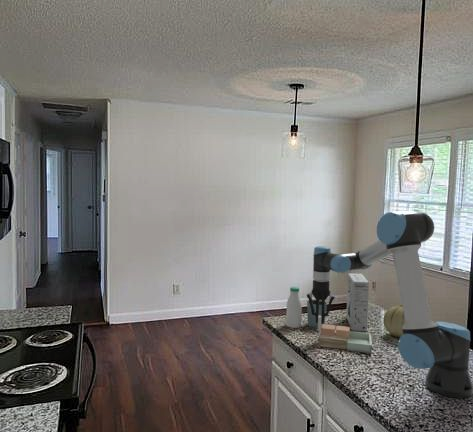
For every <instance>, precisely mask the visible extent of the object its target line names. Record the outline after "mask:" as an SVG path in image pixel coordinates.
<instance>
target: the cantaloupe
mask: <svg viewBox="0 0 473 432" xmlns="http://www.w3.org/2000/svg"><path fill="white" fill-rule="evenodd" d="M382 321H383V326H384V329H385V330H386V331H387V332H388V333H389V334H390V335H392V336H393V337H396V338H400V337H401V336H402V335H403V331H402V327H403V326H404V324H405V317H404V312H403V307H402V304H400V305H399V306H398V305H397V306H396V305H394V306H391V307H390V308H388V309H387V310H386V312H385V313H384V315H383V320H382Z"/></svg>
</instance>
